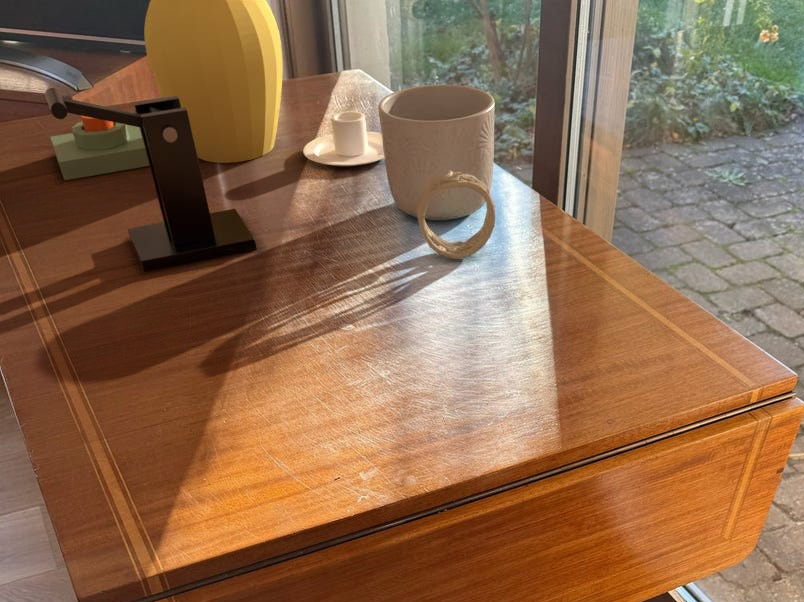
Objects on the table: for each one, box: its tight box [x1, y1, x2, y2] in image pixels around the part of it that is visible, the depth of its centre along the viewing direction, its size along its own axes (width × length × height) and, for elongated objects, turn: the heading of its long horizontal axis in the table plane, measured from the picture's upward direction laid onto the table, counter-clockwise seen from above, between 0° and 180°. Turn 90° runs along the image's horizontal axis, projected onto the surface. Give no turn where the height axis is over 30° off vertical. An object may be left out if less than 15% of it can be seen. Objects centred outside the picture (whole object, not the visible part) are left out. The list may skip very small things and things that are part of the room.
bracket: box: [126, 96, 258, 273], centre depth 102 cm, size 12×9×14 cm
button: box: [80, 115, 114, 132], centre depth 122 cm, size 4×4×2 cm
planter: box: [377, 84, 496, 221], centre depth 108 cm, size 12×12×11 cm
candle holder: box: [302, 110, 385, 167], centre depth 123 cm, size 12×12×4 cm
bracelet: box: [416, 171, 496, 260], centre depth 100 cm, size 4×8×8 cm, turn 96°
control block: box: [49, 121, 150, 181], centre depth 124 cm, size 12×10×4 cm
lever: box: [44, 87, 165, 128], centre depth 96 cm, size 12×5×2 cm, turn 113°
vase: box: [143, 0, 283, 164], centre depth 117 cm, size 16×16×28 cm
